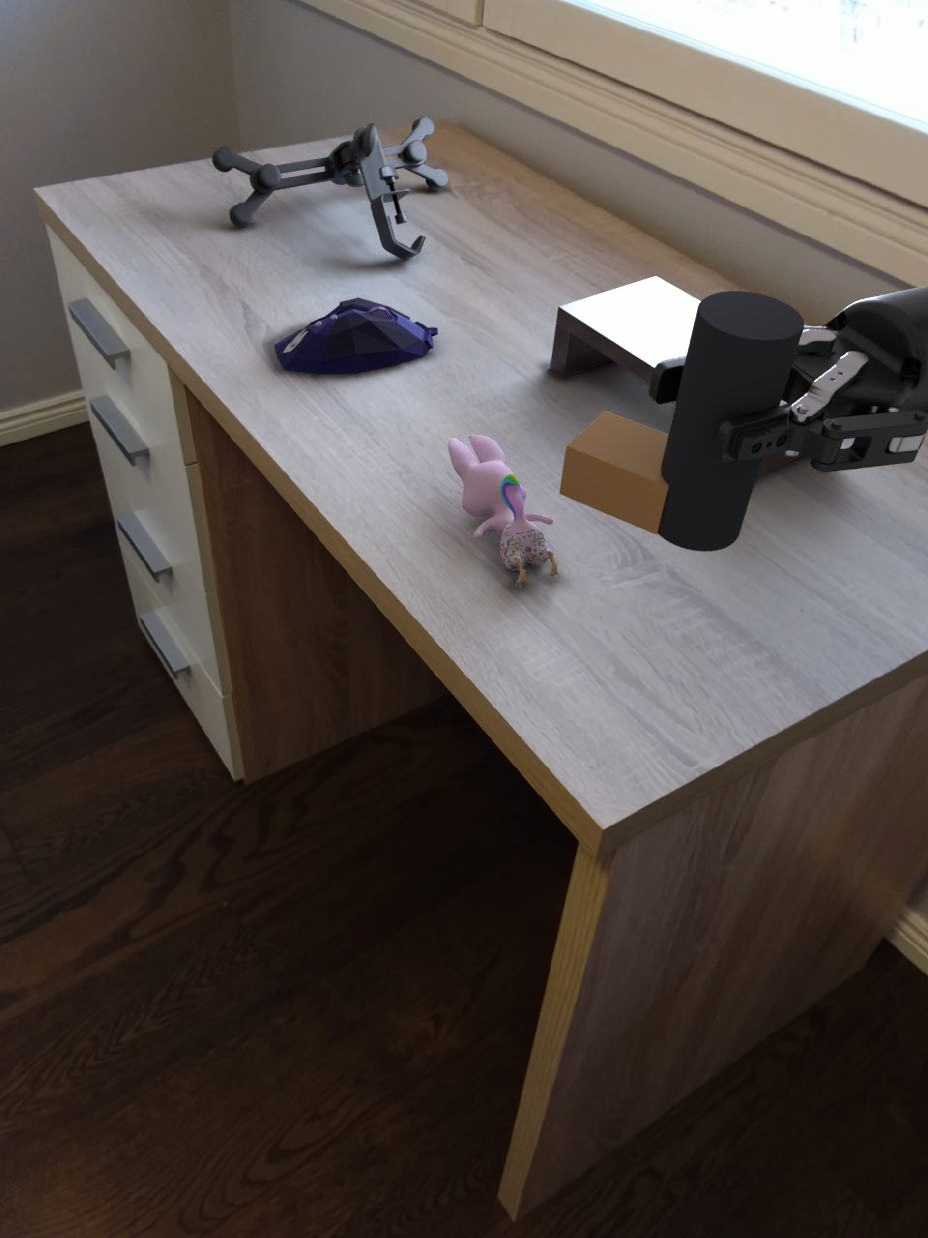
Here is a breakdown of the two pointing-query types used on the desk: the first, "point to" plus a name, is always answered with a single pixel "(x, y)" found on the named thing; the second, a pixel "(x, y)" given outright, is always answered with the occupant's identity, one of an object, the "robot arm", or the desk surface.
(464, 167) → the desk surface
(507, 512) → the rabbit figure
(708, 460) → the cylinder with tan block
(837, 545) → the desk surface
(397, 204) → the tablet mount
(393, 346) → the computer mouse
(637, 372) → the low wooden bench
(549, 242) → the desk surface
